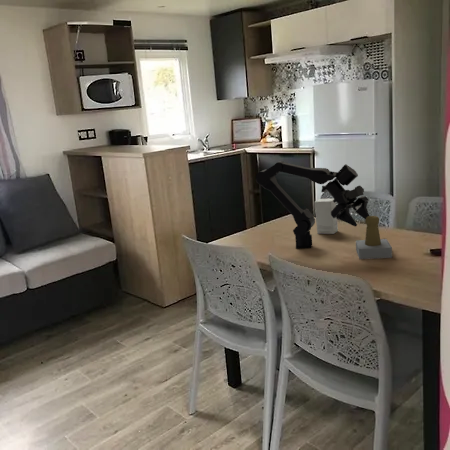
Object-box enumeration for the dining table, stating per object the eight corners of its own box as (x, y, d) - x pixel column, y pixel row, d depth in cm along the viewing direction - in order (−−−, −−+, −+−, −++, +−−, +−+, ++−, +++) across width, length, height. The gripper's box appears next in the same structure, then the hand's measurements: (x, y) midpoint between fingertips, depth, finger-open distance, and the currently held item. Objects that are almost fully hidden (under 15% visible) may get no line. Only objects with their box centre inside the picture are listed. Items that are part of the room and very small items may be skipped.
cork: (371, 247, 188) (371, 219, 186) (361, 243, 194) (360, 216, 191) (384, 243, 191) (383, 216, 188) (373, 240, 196) (373, 213, 194)
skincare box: (338, 231, 231) (336, 198, 227) (333, 234, 225) (331, 201, 222) (321, 230, 235) (319, 198, 232) (316, 233, 230) (314, 201, 226)
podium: (359, 259, 188) (358, 249, 187) (356, 250, 200) (355, 240, 199) (392, 257, 186) (391, 247, 185) (386, 248, 198) (386, 238, 197)
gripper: (335, 184, 187) (361, 215, 182) (364, 176, 199) (389, 205, 193) (320, 202, 195) (344, 233, 190) (348, 194, 207) (371, 222, 201)
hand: (363, 223), depth 193 cm, fingers open, 9 cm apart
